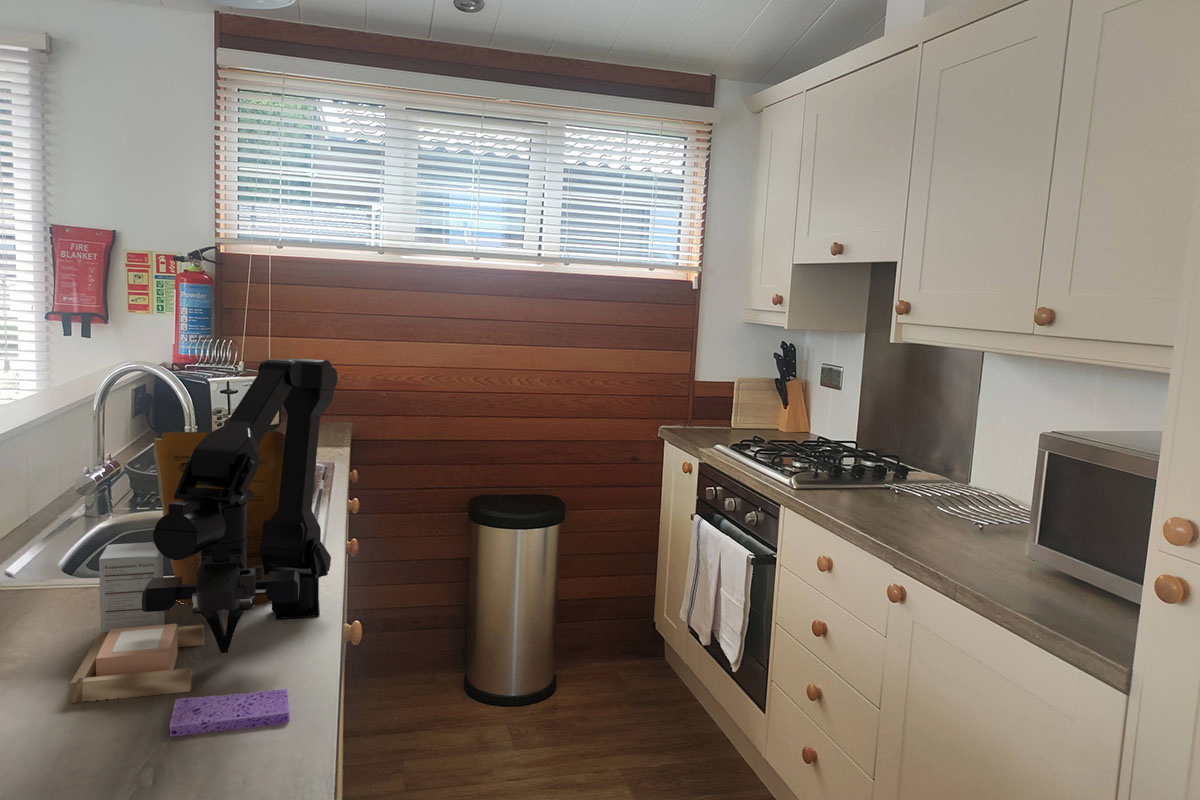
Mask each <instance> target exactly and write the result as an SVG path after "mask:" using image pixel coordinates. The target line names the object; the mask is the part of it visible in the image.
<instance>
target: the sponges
mask: <svg viewBox="0 0 1200 800" xmlns="http://www.w3.org/2000/svg"><path fill="white" fill-rule="evenodd" d="M290 719H291V717H290V709H289V695H288V688H284V689H283V688H282V689H281V688H280V689H273V690H262V691H261V690H260V691H255V692H247V693H232V694H226V695H219V694H218V695H210V696H202V697H196V696H195V697H184V698H176V699H175V702H174V705H173V711H172V714H171V719H170V722H169V735H170V737H171V738H173V737H181V736H188V735H197V734H205V733H213V732H214V733H215V732H222V731H231V730H232V731H233V730H240V729H241V730H242V729H249V728H251V729H252V728H257V727H259V728H260V727H267V726H276V725H277V726H278V725H284V724H286V723H288V722H290Z"/></svg>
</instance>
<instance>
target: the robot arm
mask: <svg viewBox="0 0 1200 800" xmlns="http://www.w3.org/2000/svg"><path fill="white" fill-rule="evenodd" d="M337 384H338V371H337V369H336V368H335V367H333V366H332V364H331V362H330V361H329V360H327V359H309V358H292V357H291V358H287V359H278V358H277V359H274V358H268V359H266V360H263V361H261V362H260V363H259V366H258V371H257V375H256V376H255V378H254V379H253V382H251V385H250V386H249V388H248V389H247V391H246V392H245V393H244V395H243V397H242V398H241V400H240V401H239V402H238V405H237V406H236V408H235V409H234V411H233V412H232V414H231V415H230V417H229V418H228V420H227V421H226V422H225V424H224V425H222V426H221V427H219V428H216V429H215V430H213V431H210V432H211V433H209V434H207V435H206V436H205V438H204V439H203V440H202V441H201V442H200V443H199V444H198V445H197V446H196V447H195V449H194V450H193V452H192V454H191V455H190V457H189V460H188V462H187V465H186V467H185V470H184V472H183V475H182V477H181V480H180V482H179V485H178V487H177V490H176V493H175V495H174V499H176V500H183V501H180V502H173V503H170V504H169V505H168V513H169V514H167V515H165V516H163V515H162V517H160V519H158V520H157V522H156V524H155V527H154V530H153V531H152V537H153V542H154V543H155V545H156V547H157V549H158V550H159V552H160V553H161V554H162V555H163V557H165V558H167V559H170V560H171V559H172V560H182V559H185V558H187V557H189V556H191V555H193V554H196V553H198V552H200V567H199V570H198V572H197V584H183V585H182V578H181V576H180V577H175V576H166V577H164V576H163V578H153V579H152V580H151V581H150V582H149V583H148V584H147V586H146V588H145V589H144V591H143V593H142V611H144V612H155V611H164V612H167V611H168V612H169V610H171V609H172V608H173V607H174V606H175V605H176V602H177V601H176V600H182V599H192V602H193V605H192V607H191V613H192V614H193V615H200V616H201V617H202V618H204V620H205V621H206V622H207V624H208V626H209V628H210V630H211V632H212V635H213V638H214V639H215V642H216V644H217V647H218V649H219V652H220V653H221V654H228V653H229V652H230V651H229V650H230V647H231V644H232V640H233V638H234V635H235V631H236V628H237V626H238V624H239V621H240V619H241V618H242V616H243V614H244V612H249V611H253V608H254V606H255V605H254V600H255V595H261V594H267V599H268V600H270V601H271V602H270V603H271V612H273V613H274V619H276V620H278V619H279V620H282V619H295V618H304V617H305V618H309V617H318V616H320V615H321V613H320V600H319V599H320V598H319V596H320V595H319V593H320V591H319V589H320V585H319V584H320V583H319V582H320V577H325V576H326V577H327V576H328V575H329V571H330V567H331V563H332V562H331V561H332V556H331V555H330V553H329V552H328V550H327V548H326V547H325V546H324V544H323V542H322V541H321V540H322V539H321V538H322V537H321V536H322V535H321V534H322V532H321V531H322V530H321V526H320V524H319V522H318V519H317V518H316V516H315V514H314V513H313V497H314V488H315V477H316V466H317V456H318V455H317V454H318V444H319V433H320V424H321V423H320V422H321V417H322V415H324V413H325V411H326V410H327V409H328V408H329V407H330V405H331V404H332V403H333V398H334V393H335V389H336V387H337V386H338V385H337ZM282 406H283V410H284V411H285V413H286V424H285V433H284V434H285V442H284V453H283V463H282V474H281V484H280V495H279V505H278V510H277V511H276V512H275V514H274V515H273V516H272V518H271V519H270V520H266V521H265V522H264V524H263V526H262V541H261V544H260V555H261V559H262V564H263V568H264V572H265V575H268V580H256V571H255V568H253V569H247V500H248V499H250V498H252V497H254V493H253V492H252V491H251V490H250V489H249V488H248V486H249V484H250V483H251V481H252V479H253V478H254V476H255V474H256V472H257V467H258V465H259V463H260V454H259V449H258V446H259V444H260V442H261V440H262V438H263V436H264V435H265V433H266V431H267V430H268V429H269V427H270V426H271V424H272V423H273V421H274V419H275V417H276V416H277V414H278V413H279V411H280V409H281V408H282ZM196 485H199V486H204V487H218V488H224V489H215V488H200V487H195V486H196ZM223 611H226V612H227V619H226V628H225V623H224V621H225V620H224V615H223V614H224V613H223Z"/></svg>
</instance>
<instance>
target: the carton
mask: <svg viewBox="0 0 1200 800" xmlns="http://www.w3.org/2000/svg"><path fill="white" fill-rule="evenodd" d="M177 627H178V623H170V624H169V623H168V624H164V625H155V626H143V627H130V628H118V629H110V631H109V633H108V635H107V637H106V639H105V641H104V643H103V645H102V647H101V649H100V651H99V653H98V655H97V657H96V677H98V676H109V675H120V674H131V673H142V672H153V671H164V670H175V665H176V662H175V661H177V657H178V653H179V652H178V651H179V650H178V649H179V647H178V642H177Z"/></svg>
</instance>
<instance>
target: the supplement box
mask: <svg viewBox="0 0 1200 800" xmlns="http://www.w3.org/2000/svg"><path fill="white" fill-rule="evenodd" d="M98 566H99V573H98V574H99V608H100V610H99V611H100V613H99V614H100V616H99V617H100V633H101V632H109V631H110V629H118V628H130V627H143V626H155V625H165V611H155V612H144V611H142V593H143V591H144V589H145V588H146V586H147V584H148V583H149V582H150V581H151V580H152V579H153V578H163V577H164V555H162V554H161V553H160V552H159V550H158V549H157V547H156V545H155V543H154V541H150V542H149V541H148V542H132V543H131V542H130V543H116V544H107V545H106V547H105V548H104V549H103V552H102V554H101V555H100V556H99V559H98Z"/></svg>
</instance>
